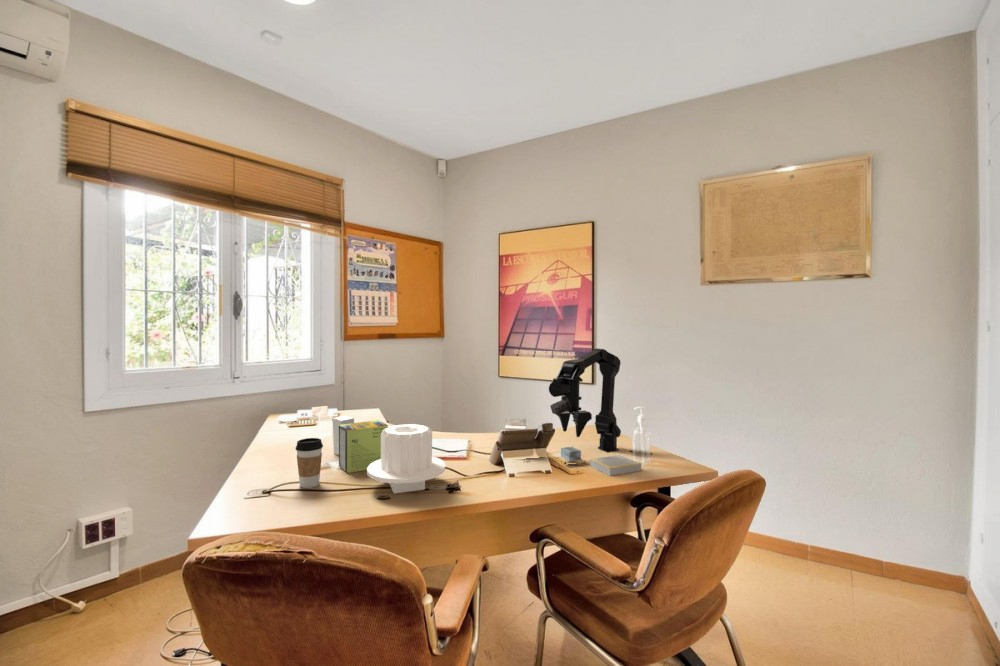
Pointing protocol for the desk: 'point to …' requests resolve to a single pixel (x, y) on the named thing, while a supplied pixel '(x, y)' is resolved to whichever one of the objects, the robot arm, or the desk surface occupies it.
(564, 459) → the pallet
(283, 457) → the desk surface
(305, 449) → the coffee cup
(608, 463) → the block
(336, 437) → the skincare box
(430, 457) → the flanged gear
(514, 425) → the ink cartridge box
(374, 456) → the protein box
